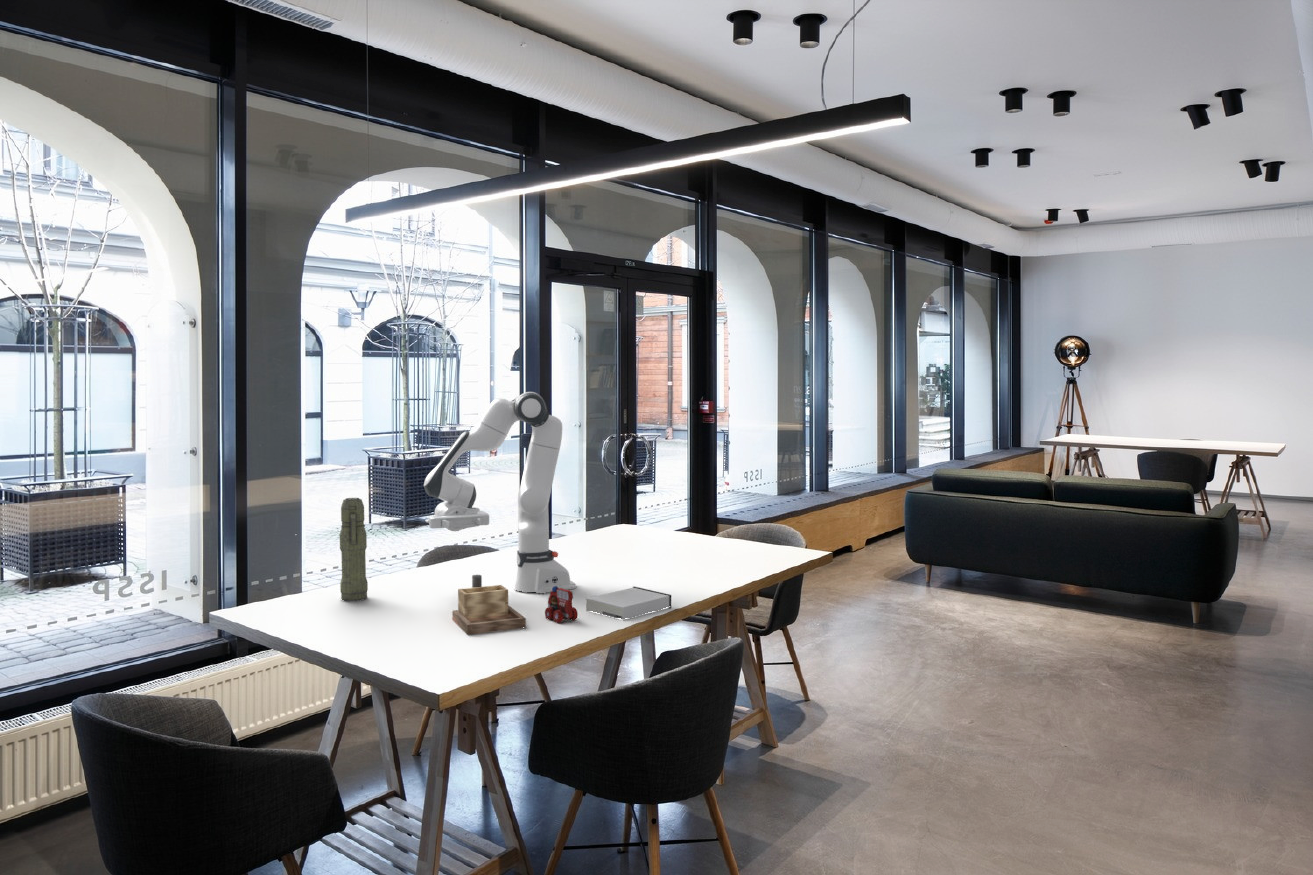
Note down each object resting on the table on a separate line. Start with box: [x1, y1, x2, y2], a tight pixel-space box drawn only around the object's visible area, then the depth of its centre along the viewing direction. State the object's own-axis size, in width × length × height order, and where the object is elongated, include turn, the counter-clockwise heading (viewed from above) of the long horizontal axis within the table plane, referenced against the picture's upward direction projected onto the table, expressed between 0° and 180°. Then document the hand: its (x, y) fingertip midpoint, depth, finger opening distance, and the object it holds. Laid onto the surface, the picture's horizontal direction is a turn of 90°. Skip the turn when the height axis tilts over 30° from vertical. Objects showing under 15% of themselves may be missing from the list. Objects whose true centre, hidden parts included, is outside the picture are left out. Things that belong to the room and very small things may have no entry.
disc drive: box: [585, 586, 672, 619], centre depth 298 cm, size 18×22×5 cm
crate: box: [457, 574, 509, 620], centre depth 287 cm, size 14×13×11 cm
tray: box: [451, 604, 527, 636], centre depth 279 cm, size 18×19×3 cm
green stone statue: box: [339, 497, 369, 602], centre depth 312 cm, size 9×12×35 cm
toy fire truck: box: [544, 586, 579, 624], centre depth 284 cm, size 7×12×10 cm, turn 38°
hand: (464, 523), depth 300 cm, fingers open, 8 cm apart
